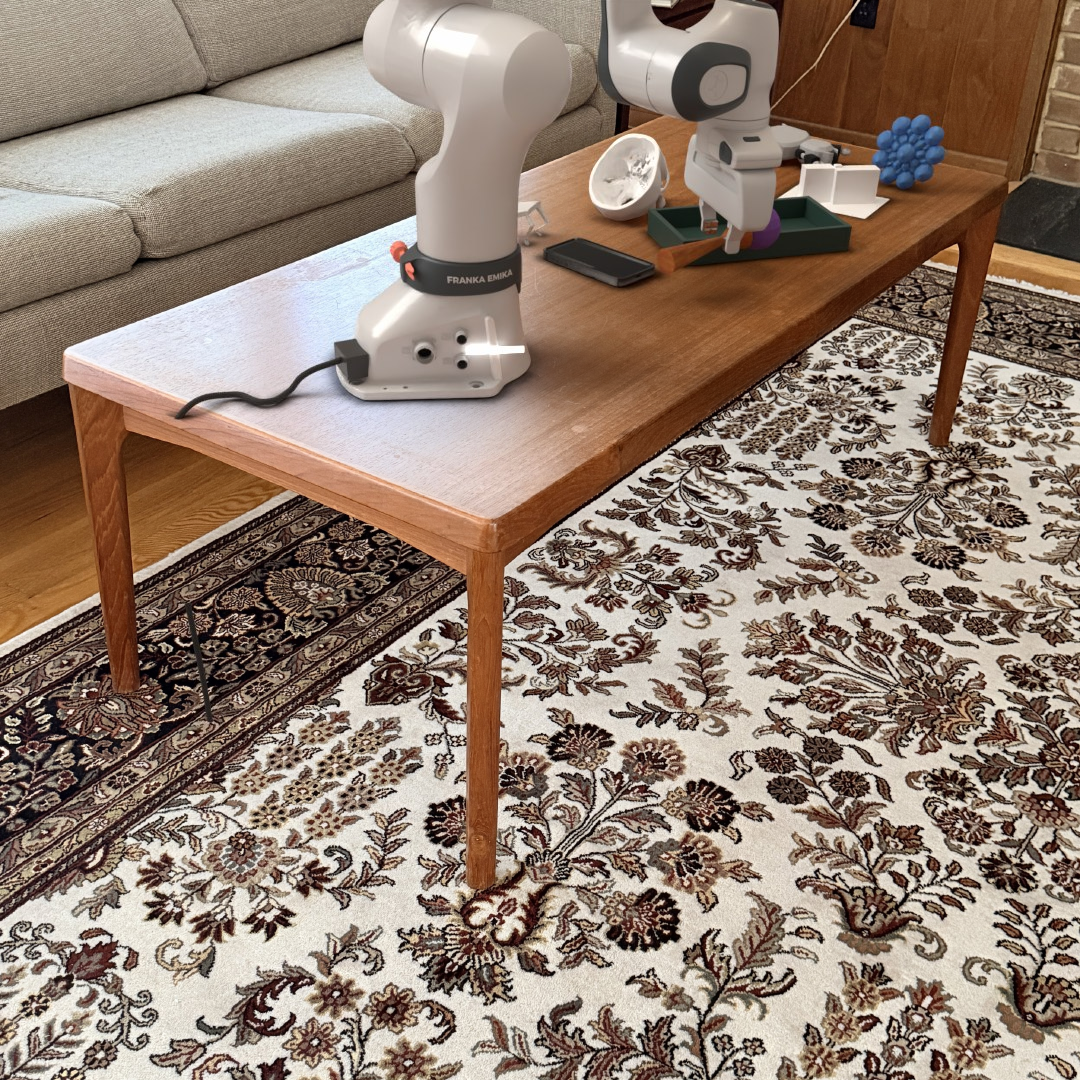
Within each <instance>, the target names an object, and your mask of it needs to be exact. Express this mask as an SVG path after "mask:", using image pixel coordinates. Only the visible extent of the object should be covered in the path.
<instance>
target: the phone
mask: <svg viewBox="0 0 1080 1080" xmlns="http://www.w3.org/2000/svg"><path fill="white" fill-rule="evenodd" d="M542 252H543V253H542V258H543V259H544V260H546V261H549V262H551V263H553V264H556V265H558V266H561V267H564V268H567V269H568V270H569V269H570V270H572V271H574V272H576V273H579V274H582V275H585V276H588V277H590V278H593V279H596V280H598V281H600V282H603V283H606V284H608V285H610V286H613V287H614V286H615V287H626V286H629V285H631V284H633V283H636V282H638V281H641V280H643V279H645V278H646V279H647V278H649V277H651V276H654V275H655V272H656V264H655V263H654V262H650V261H648V260H645V259H642V258H639V257H637V256H634V255H631V254H629V253H625V252H622V251H619V250H617V249H614V248H612V247H609V246H606V245H603V244H601V243H597V242H595V241H592V240H589V239H586V238H583V237H573V238H570V239H566V240H564V241H560V242H558V243H555V244H552V245H550V246H547V247H544V248H543V249H542Z"/></svg>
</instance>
